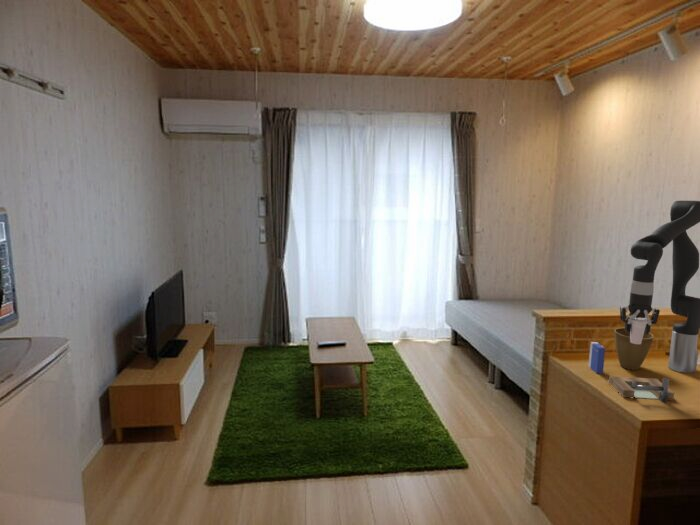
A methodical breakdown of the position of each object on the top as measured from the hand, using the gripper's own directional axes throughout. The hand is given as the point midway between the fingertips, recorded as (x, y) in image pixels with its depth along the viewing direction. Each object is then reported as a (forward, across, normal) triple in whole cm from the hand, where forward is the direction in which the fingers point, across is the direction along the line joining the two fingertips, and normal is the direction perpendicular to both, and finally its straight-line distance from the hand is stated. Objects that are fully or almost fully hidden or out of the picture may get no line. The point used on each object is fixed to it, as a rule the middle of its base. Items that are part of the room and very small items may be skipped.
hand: (636, 332), depth 183 cm
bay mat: (+23, -1, +7) cm, 24 cm away
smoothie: (+4, 0, 0) cm, 4 cm away
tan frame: (+22, -1, +5) cm, 23 cm away
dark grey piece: (+23, -1, +13) cm, 26 cm away
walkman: (+23, +8, -15) cm, 28 cm away
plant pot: (+22, -9, -21) cm, 32 cm away
